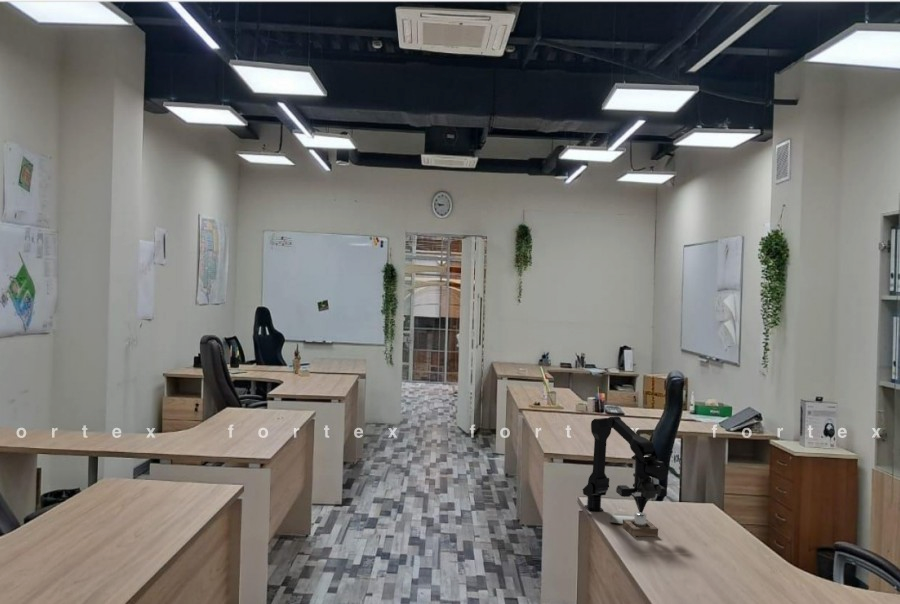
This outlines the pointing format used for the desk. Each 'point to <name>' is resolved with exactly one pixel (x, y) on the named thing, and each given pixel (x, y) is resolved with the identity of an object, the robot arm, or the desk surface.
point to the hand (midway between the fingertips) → (640, 512)
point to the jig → (640, 528)
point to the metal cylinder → (640, 519)
